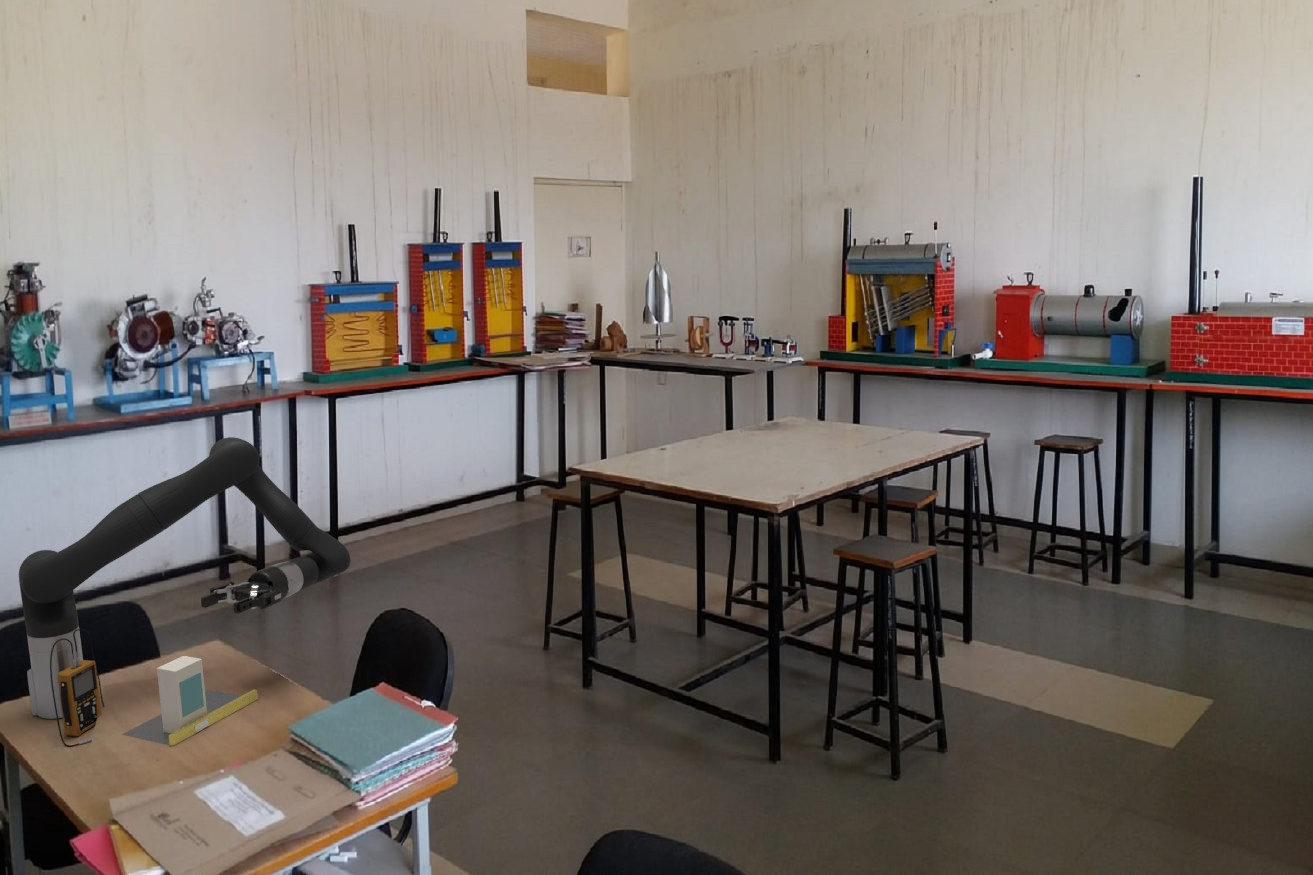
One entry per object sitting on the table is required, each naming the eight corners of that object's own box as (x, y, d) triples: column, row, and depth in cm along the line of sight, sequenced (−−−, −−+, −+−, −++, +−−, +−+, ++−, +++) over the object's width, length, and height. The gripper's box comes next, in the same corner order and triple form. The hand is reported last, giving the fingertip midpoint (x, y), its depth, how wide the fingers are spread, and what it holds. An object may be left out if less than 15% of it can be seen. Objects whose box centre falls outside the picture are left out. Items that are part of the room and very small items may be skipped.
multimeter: (96, 750, 202) (84, 650, 199) (50, 745, 204) (37, 646, 201) (147, 716, 217) (137, 622, 213) (103, 712, 219) (93, 619, 215)
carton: (163, 731, 206) (156, 668, 204) (189, 717, 212) (183, 655, 210) (182, 735, 204) (175, 671, 202) (208, 721, 210) (202, 659, 208)
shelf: (122, 741, 206) (120, 724, 205) (210, 696, 225) (208, 680, 225) (174, 753, 201) (172, 736, 200) (259, 706, 220) (257, 690, 220)
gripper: (249, 562, 231) (190, 583, 216) (301, 569, 226) (245, 592, 211) (251, 595, 232) (193, 618, 218) (303, 603, 227) (247, 628, 212)
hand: (218, 605), depth 214 cm, fingers open, 8 cm apart
